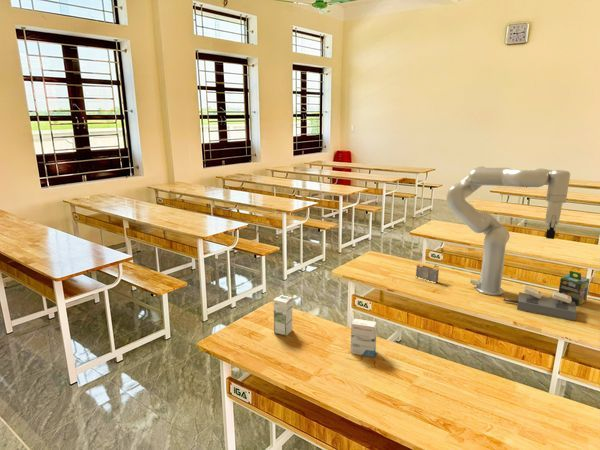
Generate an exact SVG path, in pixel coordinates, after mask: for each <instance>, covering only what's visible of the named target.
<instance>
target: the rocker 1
mask: <svg viewBox="0 0 600 450" xmlns="http://www.w3.org/2000/svg"><path fill="white" fill-rule="evenodd" d="M523 290H524V292H523V293H527V294H530V295H533V296H535V297H537V298H541V296H543V294H542V293H543V292H542V291H540V290H537V289H535V288H533V287H531V286H528V285H525V287H524V289H523Z"/></svg>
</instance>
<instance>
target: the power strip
mask: <svg viewBox="0 0 600 450" xmlns="http://www.w3.org/2000/svg"><path fill="white" fill-rule="evenodd" d="M503 301H504V302H508V303H513V304H517V306H516V310H518V311H523V312H527V313H534V314H539V315H543V316H548V317H553V318H558V319H564V320H568V321H574V322H576V319H577V313H578V311H577V306H576V305H575V302H571V303H567V302H564V301H561V300H558V299H555V298H553V297H549V296H544V295H542V296H541V298H537V297H535V296H533V295H530V294H528V293H526V292H521V291H519V292H518V300H514V299H510V298H505V297H504V298H503Z"/></svg>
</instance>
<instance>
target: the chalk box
mask: <svg viewBox="0 0 600 450" xmlns="http://www.w3.org/2000/svg"><path fill="white" fill-rule="evenodd" d="M590 280H591V279H590V278H587V277H583V276H582V274H581V273H580V272H578V271H574V270H570V271H569V274H566V275H564V276H562V277H561V278H560V280H559V287H558V292H559V293H562V294H565V295H568V296H570V297H571V300H572V301H571V302H575V305H576V307H579V306H581V305H582V304H585V303H586V302H587V299H588V292H589V286H590Z"/></svg>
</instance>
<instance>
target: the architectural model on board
mask: <svg viewBox="0 0 600 450" xmlns="http://www.w3.org/2000/svg"><path fill="white" fill-rule="evenodd" d="M439 267H440V265H437V264H434V266H433V267H430V266H426V265H422V266H421V265H420V264H417V265H416V270H415V277H416V276H417V277H420V278H423V279H426V280H429V281H433V282H437V281H438V282H439V273H440V271H439V270H440V269H438V268H439Z"/></svg>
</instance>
